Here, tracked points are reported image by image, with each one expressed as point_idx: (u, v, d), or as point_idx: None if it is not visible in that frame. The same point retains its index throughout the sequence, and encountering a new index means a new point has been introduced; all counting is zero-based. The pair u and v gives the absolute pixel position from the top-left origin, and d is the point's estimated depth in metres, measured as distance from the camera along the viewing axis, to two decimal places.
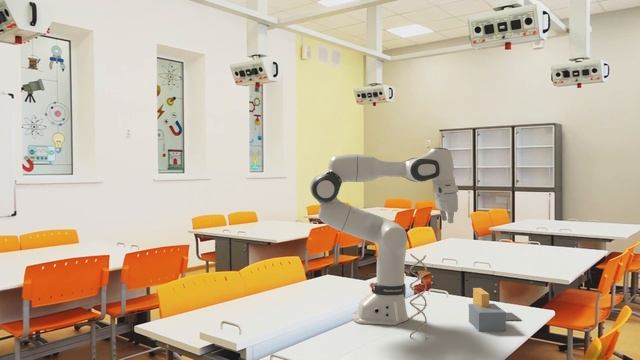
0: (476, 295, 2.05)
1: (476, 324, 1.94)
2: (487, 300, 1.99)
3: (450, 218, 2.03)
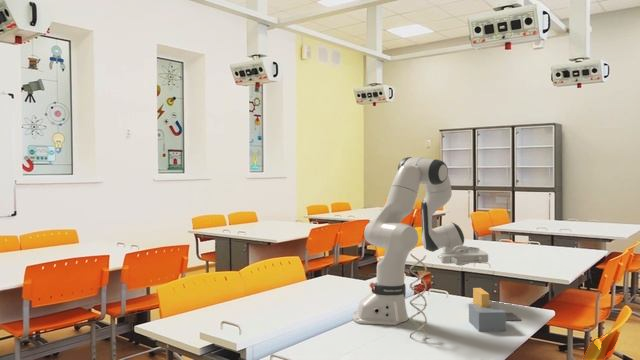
0: (476, 295, 2.05)
1: (476, 324, 1.94)
2: (487, 300, 1.99)
3: None
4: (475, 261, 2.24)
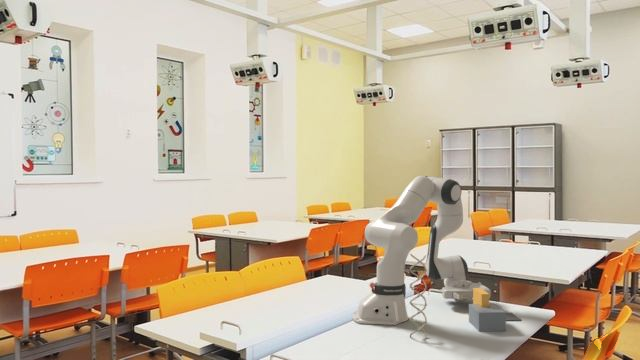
0: (476, 295, 2.05)
1: (476, 324, 1.94)
2: (487, 300, 1.99)
3: None
4: None
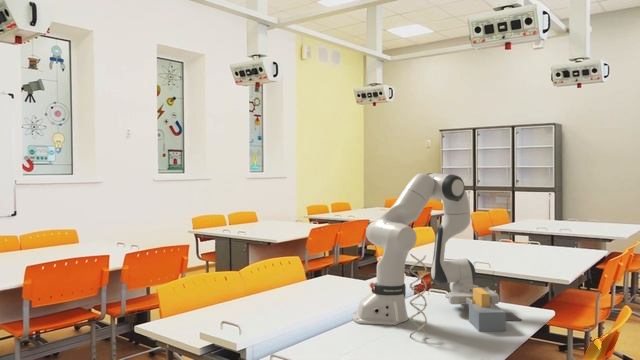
0: (476, 295, 2.05)
1: (476, 324, 1.94)
2: (487, 300, 1.99)
3: None
4: None
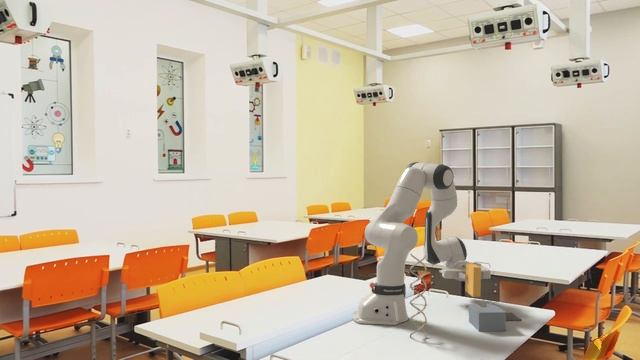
0: (468, 269, 2.14)
1: (476, 324, 1.94)
2: (479, 273, 2.08)
3: None
4: None
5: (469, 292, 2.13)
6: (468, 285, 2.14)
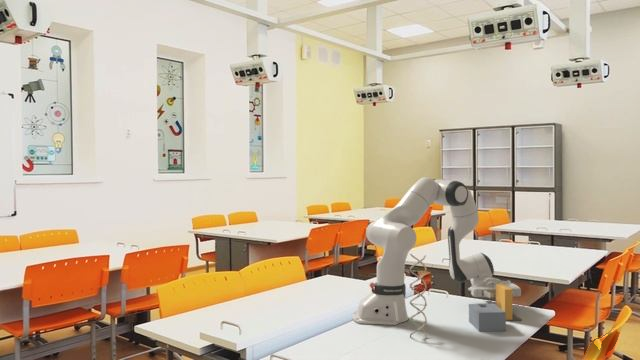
0: (499, 291, 2.10)
1: (476, 324, 1.94)
2: (510, 295, 2.04)
3: (513, 293, 2.13)
4: None
5: None
6: None
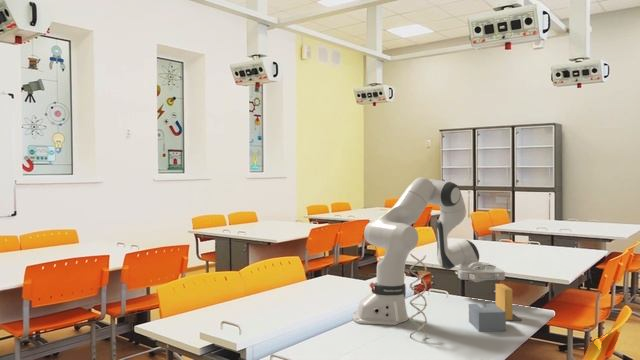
0: (499, 291, 2.10)
1: (476, 324, 1.94)
2: (510, 295, 2.04)
3: None
4: (492, 278, 2.29)
5: None
6: None
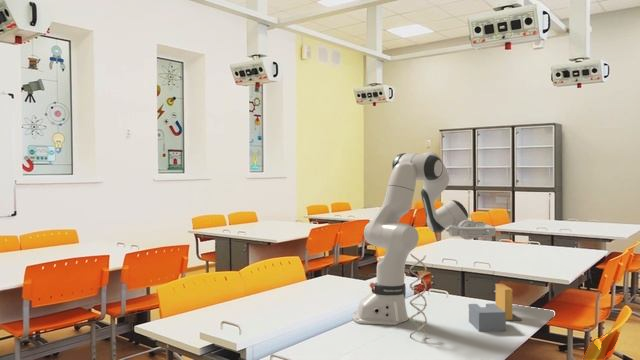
0: (499, 291, 2.10)
1: (476, 324, 1.94)
2: (510, 295, 2.04)
3: None
4: (483, 234, 2.28)
5: None
6: None
